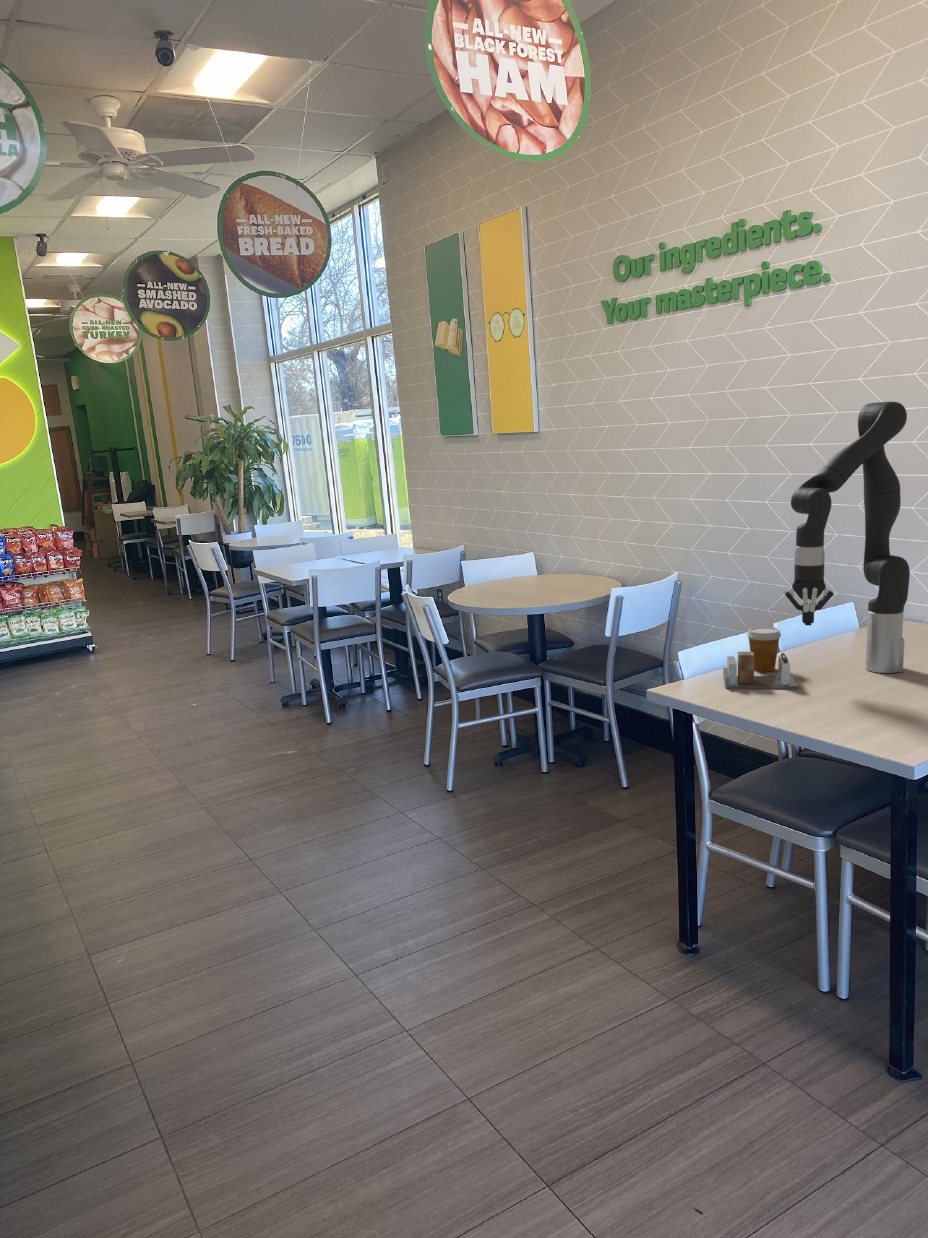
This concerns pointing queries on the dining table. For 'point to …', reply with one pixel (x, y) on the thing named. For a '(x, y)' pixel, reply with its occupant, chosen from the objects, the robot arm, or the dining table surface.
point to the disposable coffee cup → (764, 647)
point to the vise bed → (759, 681)
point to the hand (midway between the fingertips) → (807, 624)
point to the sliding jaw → (784, 670)
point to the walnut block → (746, 667)
